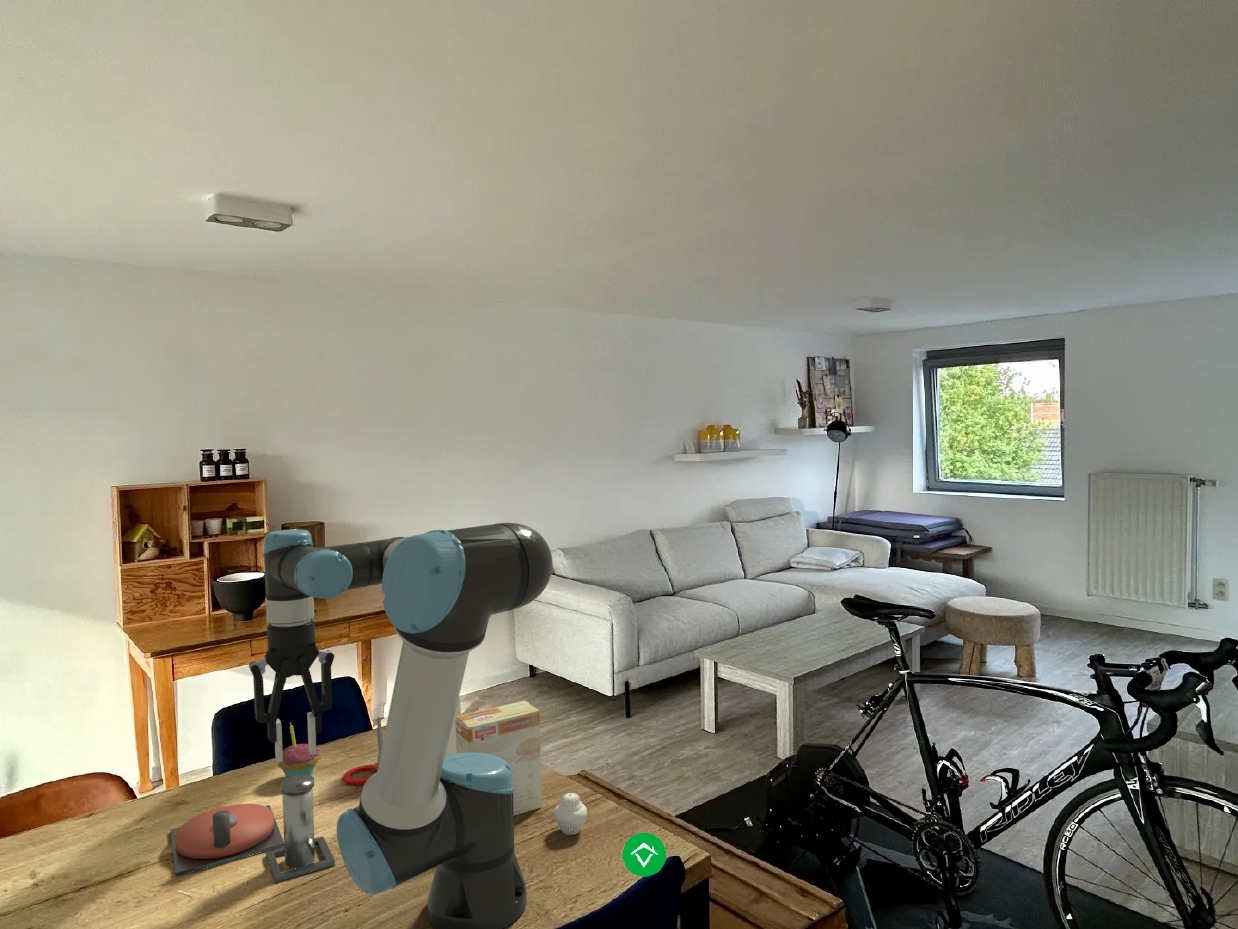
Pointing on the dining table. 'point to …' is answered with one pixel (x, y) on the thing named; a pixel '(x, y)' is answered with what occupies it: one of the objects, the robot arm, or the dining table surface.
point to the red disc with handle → (224, 831)
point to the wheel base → (192, 864)
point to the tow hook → (348, 774)
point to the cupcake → (298, 758)
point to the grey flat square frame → (304, 869)
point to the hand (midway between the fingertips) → (295, 755)
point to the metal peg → (298, 820)
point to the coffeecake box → (508, 746)
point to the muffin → (570, 814)
